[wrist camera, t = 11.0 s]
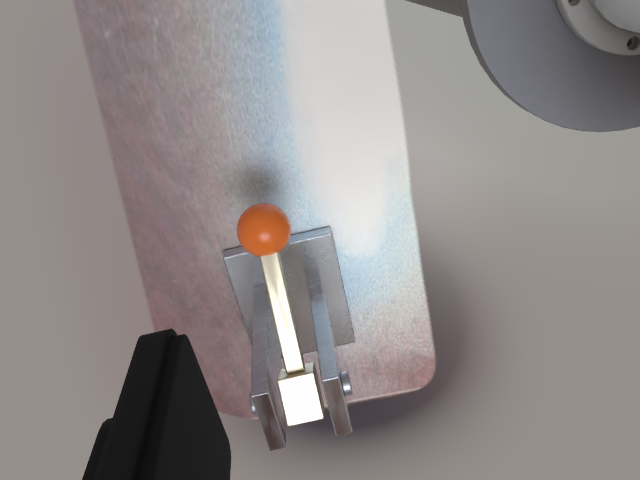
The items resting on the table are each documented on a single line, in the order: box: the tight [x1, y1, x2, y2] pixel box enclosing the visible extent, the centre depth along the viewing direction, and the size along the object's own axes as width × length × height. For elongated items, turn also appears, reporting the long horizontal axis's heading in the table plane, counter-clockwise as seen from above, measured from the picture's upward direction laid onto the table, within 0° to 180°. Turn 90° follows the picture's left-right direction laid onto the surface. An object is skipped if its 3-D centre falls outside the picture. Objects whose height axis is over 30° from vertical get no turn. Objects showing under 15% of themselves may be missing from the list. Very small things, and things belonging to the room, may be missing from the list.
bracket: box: [223, 227, 355, 451], centre depth 37 cm, size 10×8×13 cm
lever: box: [237, 203, 324, 426], centre depth 33 cm, size 13×3×3 cm, turn 10°
